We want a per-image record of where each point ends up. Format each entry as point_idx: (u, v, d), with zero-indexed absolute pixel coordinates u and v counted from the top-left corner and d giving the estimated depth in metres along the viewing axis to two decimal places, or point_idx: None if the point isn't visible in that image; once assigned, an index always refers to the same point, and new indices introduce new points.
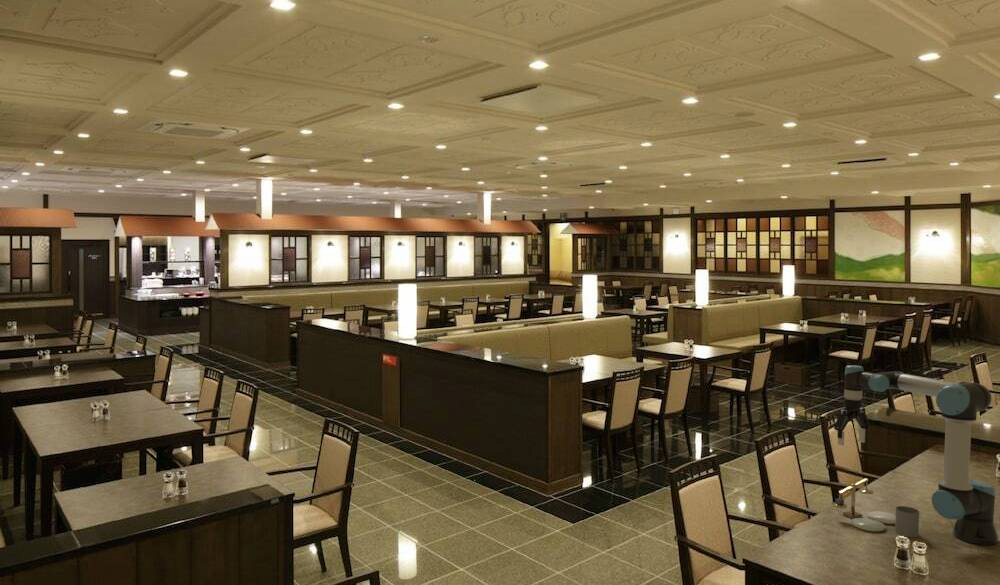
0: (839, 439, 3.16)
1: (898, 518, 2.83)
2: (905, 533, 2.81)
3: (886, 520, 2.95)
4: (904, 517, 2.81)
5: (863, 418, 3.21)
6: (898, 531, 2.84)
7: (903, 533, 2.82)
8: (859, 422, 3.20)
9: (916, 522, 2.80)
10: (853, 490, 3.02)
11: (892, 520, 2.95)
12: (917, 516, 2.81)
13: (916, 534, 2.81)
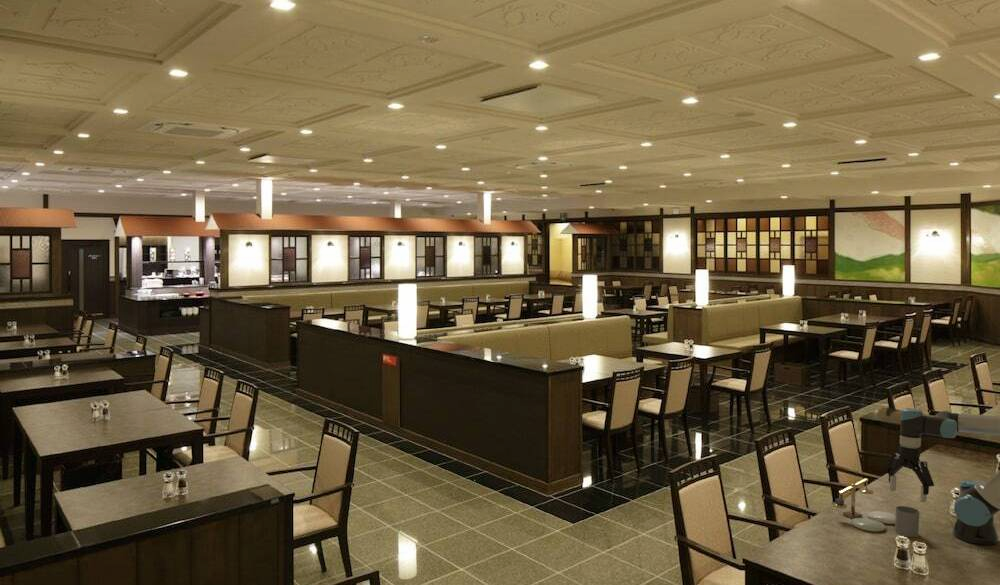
0: None
1: (898, 518, 2.83)
2: (905, 533, 2.81)
3: (886, 520, 2.95)
4: (904, 517, 2.81)
5: None
6: (898, 531, 2.84)
7: (903, 533, 2.82)
8: None
9: (916, 522, 2.80)
10: (853, 490, 3.02)
11: (892, 520, 2.95)
12: (917, 516, 2.81)
13: (916, 534, 2.81)
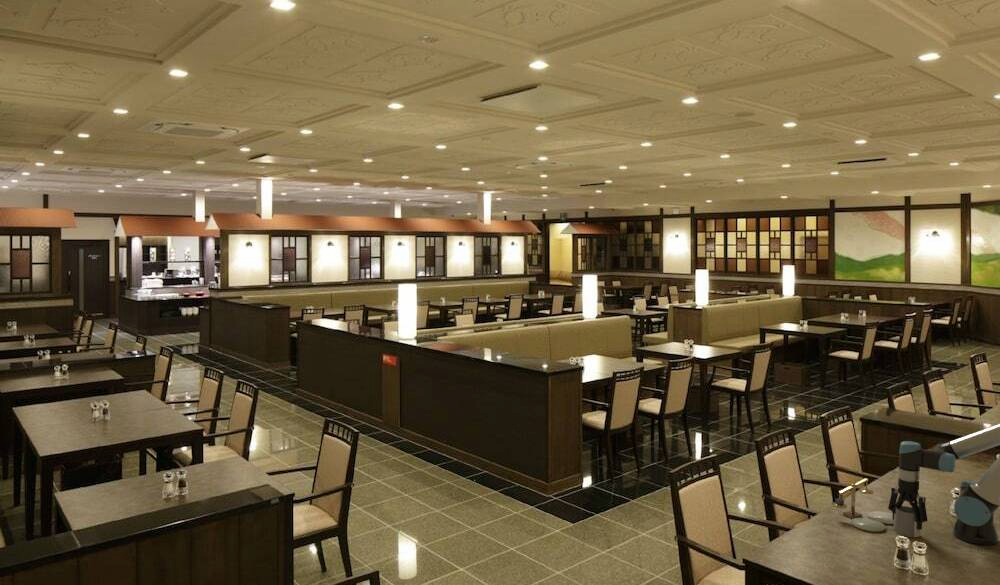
0: None
1: (898, 518, 2.83)
2: (905, 533, 2.81)
3: (886, 520, 2.95)
4: (904, 517, 2.81)
5: None
6: (898, 531, 2.84)
7: (903, 533, 2.82)
8: None
9: None
10: (853, 490, 3.02)
11: (892, 520, 2.95)
12: None
13: None
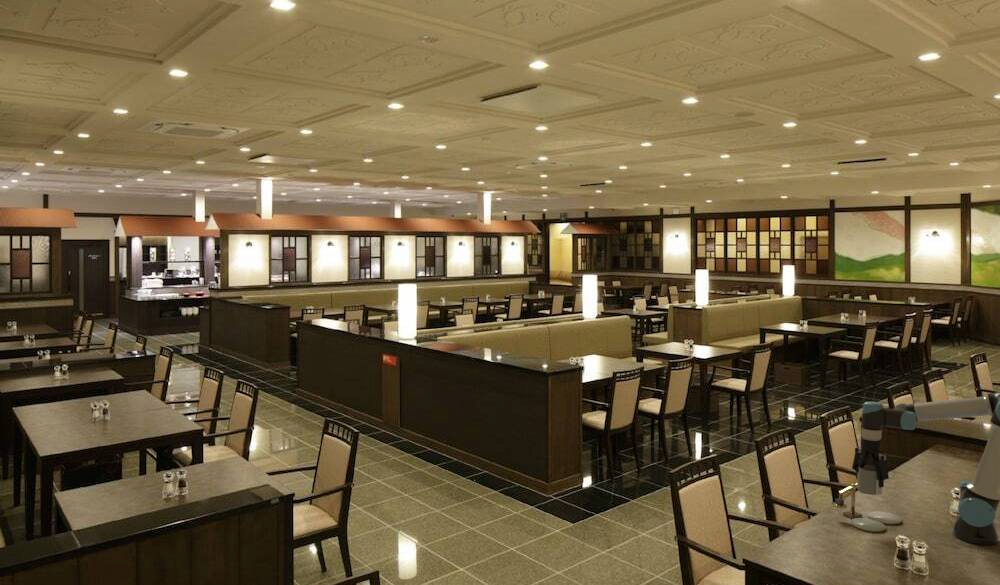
0: None
1: (861, 476, 2.89)
2: (867, 491, 2.87)
3: (886, 520, 2.95)
4: (866, 475, 2.87)
5: None
6: (861, 489, 2.89)
7: (865, 491, 2.88)
8: None
9: None
10: (853, 490, 3.02)
11: (892, 520, 2.95)
12: None
13: None
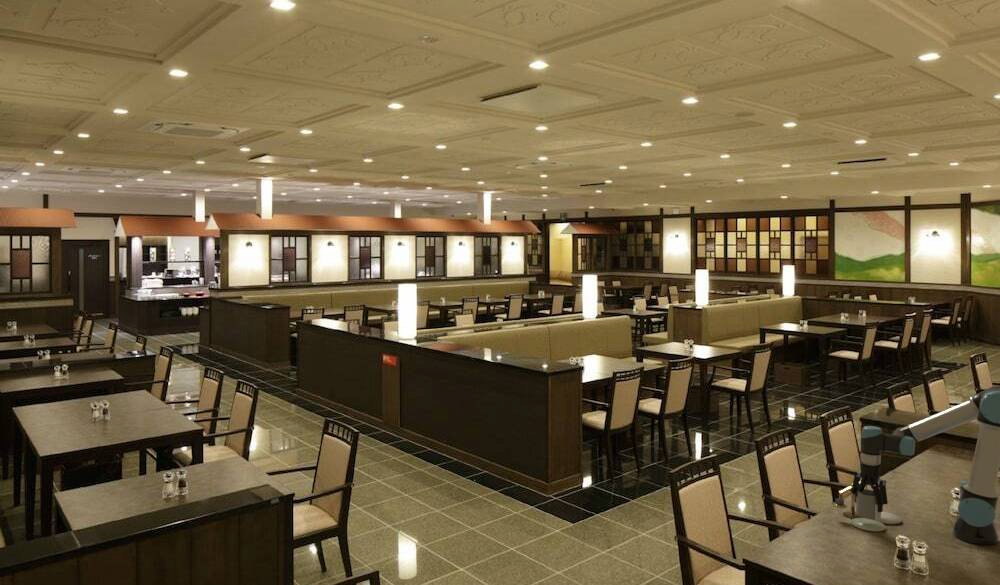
0: None
1: (860, 501, 2.90)
2: (866, 515, 2.88)
3: (886, 520, 2.95)
4: (865, 500, 2.88)
5: None
6: (860, 513, 2.90)
7: (864, 515, 2.88)
8: None
9: None
10: None
11: (892, 520, 2.95)
12: None
13: None
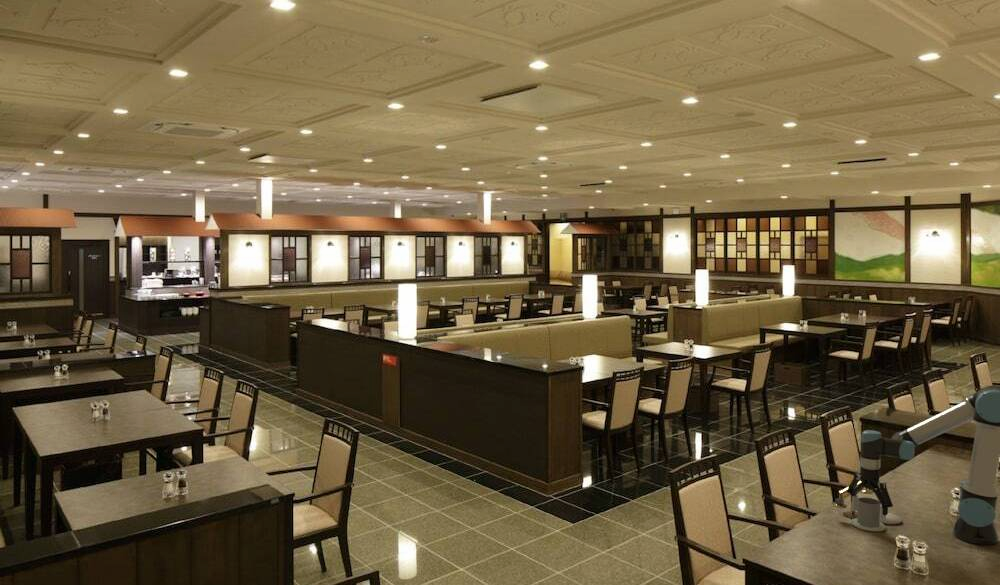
0: None
1: (860, 509, 2.90)
2: (866, 523, 2.88)
3: (886, 520, 2.95)
4: (865, 508, 2.88)
5: None
6: (860, 522, 2.90)
7: (864, 524, 2.88)
8: None
9: (877, 513, 2.87)
10: None
11: (892, 520, 2.95)
12: (878, 507, 2.87)
13: (877, 524, 2.87)
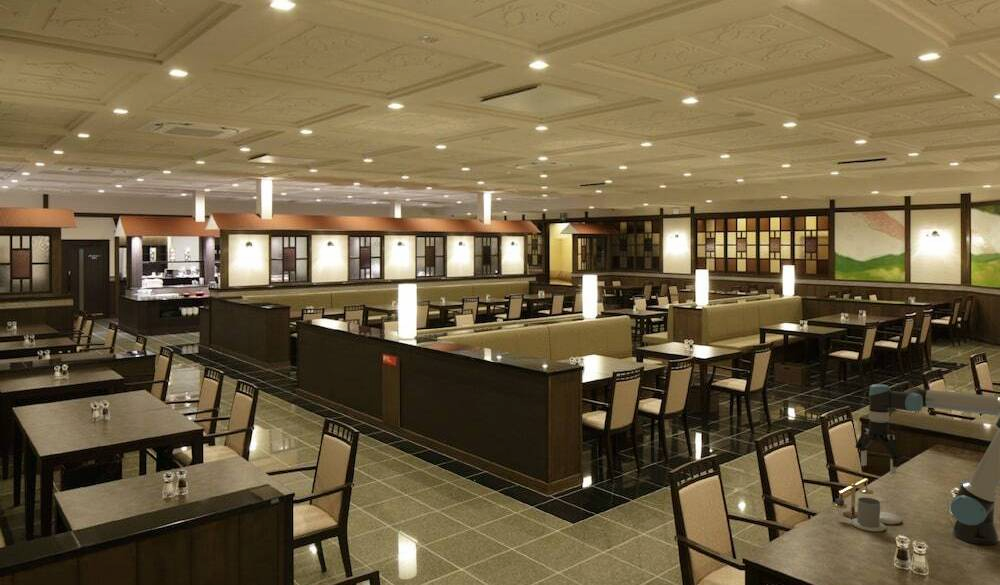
0: None
1: (860, 509, 2.90)
2: (866, 523, 2.88)
3: (886, 520, 2.95)
4: (865, 508, 2.88)
5: None
6: (860, 522, 2.90)
7: (864, 524, 2.88)
8: None
9: (877, 513, 2.87)
10: (853, 490, 3.02)
11: (892, 520, 2.95)
12: (878, 507, 2.87)
13: (877, 524, 2.87)
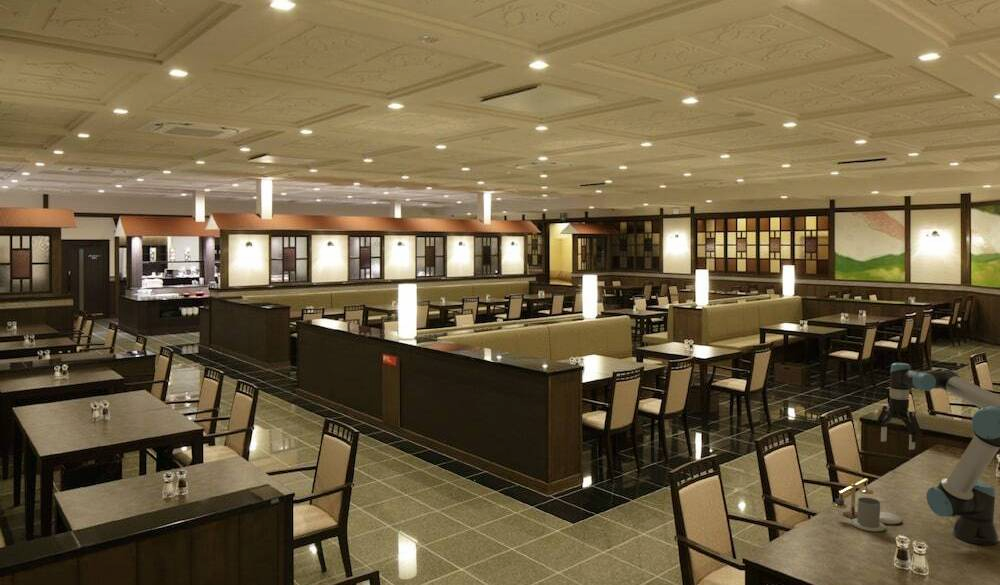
0: None
1: (860, 509, 2.90)
2: (866, 523, 2.88)
3: (886, 520, 2.95)
4: (865, 508, 2.88)
5: None
6: (860, 522, 2.90)
7: (864, 524, 2.88)
8: None
9: (877, 513, 2.87)
10: (853, 490, 3.02)
11: (892, 520, 2.95)
12: (878, 507, 2.87)
13: (877, 524, 2.87)
